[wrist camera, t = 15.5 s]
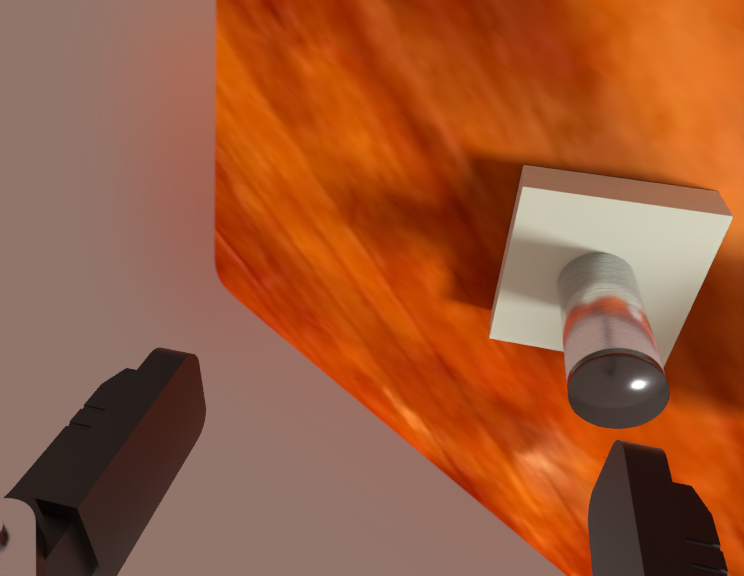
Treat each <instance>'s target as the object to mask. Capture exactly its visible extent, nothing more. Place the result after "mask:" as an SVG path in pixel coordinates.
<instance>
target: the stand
mask: <svg viewBox="0 0 744 576" xmlns="http://www.w3.org/2000/svg"><path fill="white" fill-rule="evenodd" d="M732 218H733V215H732V214H731V212H730V210H729V209H728V207H727V205H726V204H725V202H724V200H723V199H722V197H721V195H720V194H719V192H718V191H712V190H704V189H697V188H690V187H683V186H675V185H668V184H661V183H653V182H646V181H639V180H631V179H624V178H617V177H610V176H602V175H595V174H588V173H580V172H573V171H566V170H558V169H551V168H544V167H537V166H529V165H523V169H522V173H521V178H520V182H519V187H518V192H517V196H516V201H515V205H514V210H513V215H512V219H511V224H510V228H509V233H508V238H507V242H506V247H505V251H504V256H503V260H502V265H501V270H500V274H499V279H498V283H497V288H496V293H495V297H494V302H493V306H492V312H491V323H490V334H489V338H491V339H496V340H502V341H507V342H513V343H519V344H524V345H530V346H535V347H541V348H546V349H552V350H557V351H563V352H564V349H563V338H562V328H561V318H560V308H559V298H558V288H557V283H558V278H559V276H560V273H561V272H562V270H563V269H564V268H565V266H566V265H567V264H568V263H570V262H571V261H572V260H574V259H576V258H578V257H580V256H583V255H586V254H590V253H608V254H613V255H616V256H618V257H620V258H622V259H623V260H625V261H626V262H627V263H628V264H629V265H630V266H631V267H632V269H633V271H634V273H635V276H636V280H637V283H638V286H639V290H640V293H641V296H642V300H643V303H644V306H645V310H646V313H647V316H648V320H649V323H650V326H651V330H652V333H653V336H654V340H655V343H656V346H657V350H658V353H659V356H660V360H661V363H662V366H663V368H664V366H665V363H666V361H667V359H668V357H669V355H670V353H671V350H672V348H673V346H674V344H675V342H676V340H677V337H678V335H679V333H680V331H681V329H682V327H683V324H684V322H685V320H686V318H687V316H688V314H689V311H690V309H691V307H692V305H693V303H694V301H695V298H696V296H697V294H698V292H699V290H700V288H701V285H702V283H703V281H704V279H705V277H706V275H707V272H708V270H709V268H710V266H711V264H712V262H713V259H714V257H715V255H716V253H717V251H718V249H719V247H720V244H721V242H722V240H723V238H724V236H725V234H726V231H727V229H728V227H729V225H730V223H731V221H732Z"/></svg>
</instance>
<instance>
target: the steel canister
mask: <svg viewBox="0 0 744 576" xmlns="http://www.w3.org/2000/svg"><path fill="white" fill-rule="evenodd" d="M557 288H558V298H559V308H560V318H561V328H562V338H563V349H564V359H565V369H566V379H567V389H568V399H569V403H570V405H571V407H572V409H573V410H574V412H575V413H576V414H577V415H578V416H579V417H581V418H582V419H584V420H585V421H587V422H589V423H591V424H594V425H596V426H600V427H605V428H613V429H623V428H630V427H635V426H639V425H642V424H644V423H647V422H648V421H650V420H652V419H654V418H655V417H656V416H658V415H659V414H660V413H661V412H662V411H663V409H664V408H665V406H666V405H667V402H668V400H669V386H668V383H667V380H666V376H665V373H664V370H663V366H662V363H661V360H660V356H659V353H658V350H657V346H656V343H655V340H654V336H653V333H652V330H651V326H650V323H649V320H648V316H647V313H646V310H645V306H644V303H643V300H642V296H641V293H640V290H639V286H638V283H637V280H636V276H635V273H634V271H633V269H632V267H631V266H630V265H629V264H628V263H627V262H626V261H625V260H623V259H622V258H620V257H618V256H616V255H613V254H608V253H590V254H586V255H583V256H580V257H578V258H576V259H574V260H572V261H571V262H570V263H568V264H567V265H566V266H565V268H564V269H563V270H562V272H561V273H560V276H559V278H558V283H557Z"/></svg>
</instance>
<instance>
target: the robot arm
mask: <svg viewBox="0 0 744 576" xmlns="http://www.w3.org/2000/svg"><path fill="white" fill-rule="evenodd" d="M205 416H206V406H205V399H204V392H203V385H202V380H201V373H200V366H199V360H198V358H197V356H196V355H195V354H190V353H185V352H180V351H175V350H170V349H165V348H156V349H154V350H153V351H152V352H151V353H150V354H149V356H148V357H147V358H146V359H145V361H144V362H143V363H142V364H141V366H140V367H139V368H138V369H137V370H134V369H129V368H126V369H124V370H123V371H121V372H120V373H118V374H116V375H115V376H113V377H112V378H110V379H109V380H107V381H106V382H104V383H102V384H101V385H100V387H99V388H98V389H97V390H96V391H95V392H94V394H93V395H92V396H91V397H90V398H89V400H88V401H87V402H86V403H85V404H84V408H83V409H80V410H79V411H78V412H77V414H76V415H75V416H74V417H73V418H72V419H71V421H70V424H69V426H66V427H65V428H64V429H63V430H62V431H61V432H60V434H59V435H58V436H57V437H56V438H55V439H54V441H53V442H52V443H51V444H50V445H49V447H48V448H47V449H46V450H45V451H44V452H43V454H42V455H41V456H40V457H39V458H38V459H37V461H36V462H35V463H34V465H32V467H31V468H30V469H29V470H28V471H27V473H26V474H25V475H24V476H23V477H22V478H21V480H20V481H19V482H18V483H17V484H16V486H15V487H14V488H13V489H12V490H11V491H10V492H9V493H8V494H7V495H6V496H5V497H4V498H1V499H0V576H117V575H118V573H119V571H120V569H121V568H122V566H123V564H124V563H125V561H126V559H127V557H128V556H129V554H130V553H131V551H132V549H133V548H134V546H135V544H136V542H137V541H138V539H139V537H140V536H141V534H142V532H143V531H144V529H145V527H146V526H147V524H148V522H149V521H150V519H151V517H152V515H153V514H154V512H155V511H156V509H157V507H158V505H159V503H160V502H161V500H162V499H163V497H164V495H165V494H166V492H167V490H168V489H169V487H170V485H171V484H172V482H173V480H174V479H175V477H176V475H177V473H178V472H179V470H180V468H181V467H182V465H183V463H184V462H185V460H186V458H187V457H188V455H189V453H190V452H191V450H192V448H193V447H194V445H195V443H196V441H197V440H198V438H199V436H200V434H201V431H202V429H203V425H204V421H205ZM588 528H589V539H590V550H591V562H592V573H593V576H727V572H728V569H727V566H726V562H725V559H724V555H723V552H722V551H720V546H721V545H720V541H719V538H718V534H717V531H716V527H715V524H714V520H713V517H712V514H711V513H710V511H709V510H708V509H707V507H706V506H705V504H704V503H703V502H702V500H701V499H700V497H699V496H698V494H697V493H696V492H695V490H694V489H693V487H692V486H689V485H684V484H679V483H675V482H672V478H671V474H670V469H669V465H668V461H667V457H666V454H665V452H664V451H663V450H662V449H660V448H655V447H650V446H645V445H640V444H635V443H630V442H625V441H620V440H617V441H615V443H614V444H613V446H612V448H611V450H610V453H609V455H608V457H607V459H606V462H605V464H604V466H603V468H602V471H601V473H600V475H599V478H598V480H597V482H596V484H595V487H594V489H593V491H592V495H591V499H590V504H589V512H588Z"/></svg>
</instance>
